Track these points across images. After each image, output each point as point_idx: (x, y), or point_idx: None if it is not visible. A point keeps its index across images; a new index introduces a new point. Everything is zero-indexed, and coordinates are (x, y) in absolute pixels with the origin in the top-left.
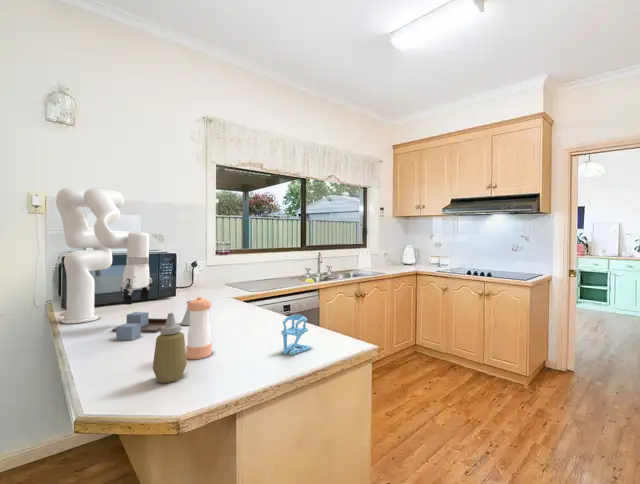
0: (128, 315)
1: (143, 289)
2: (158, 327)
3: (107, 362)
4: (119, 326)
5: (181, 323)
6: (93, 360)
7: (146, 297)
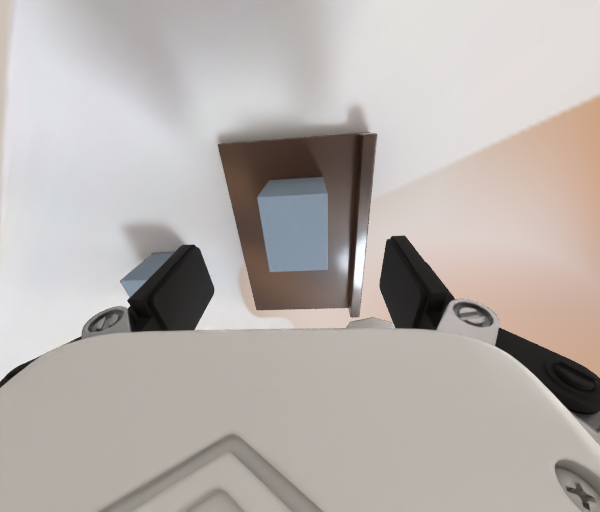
0: (259, 208)
1: (428, 329)
2: (284, 301)
3: (58, 342)
4: (127, 289)
5: (350, 325)
6: (41, 315)
7: (385, 293)
